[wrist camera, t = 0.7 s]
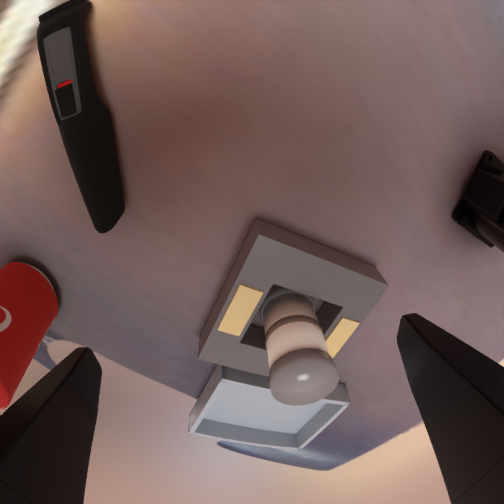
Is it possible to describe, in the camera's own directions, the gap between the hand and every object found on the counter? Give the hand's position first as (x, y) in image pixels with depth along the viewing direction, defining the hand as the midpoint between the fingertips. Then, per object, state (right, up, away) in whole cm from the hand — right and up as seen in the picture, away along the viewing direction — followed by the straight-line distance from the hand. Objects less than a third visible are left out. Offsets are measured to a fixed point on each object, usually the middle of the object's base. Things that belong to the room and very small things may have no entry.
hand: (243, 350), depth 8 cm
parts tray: (+2, -13, +22) cm, 25 cm away
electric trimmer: (-10, +12, +9) cm, 18 cm away
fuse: (+3, -1, +16) cm, 16 cm away
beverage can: (-18, 0, +14) cm, 23 cm away
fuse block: (+3, -1, +16) cm, 16 cm away
